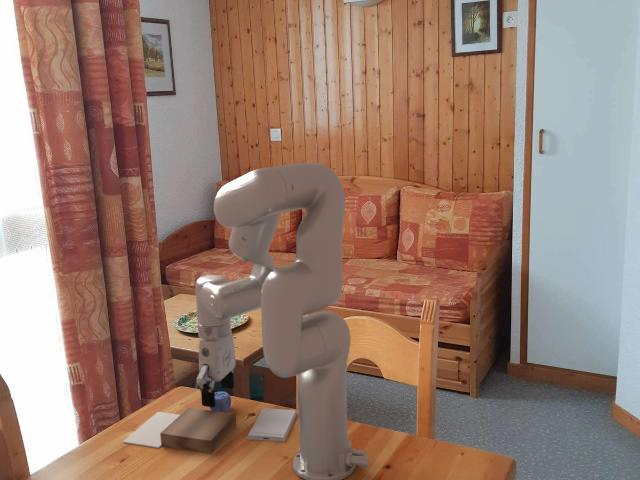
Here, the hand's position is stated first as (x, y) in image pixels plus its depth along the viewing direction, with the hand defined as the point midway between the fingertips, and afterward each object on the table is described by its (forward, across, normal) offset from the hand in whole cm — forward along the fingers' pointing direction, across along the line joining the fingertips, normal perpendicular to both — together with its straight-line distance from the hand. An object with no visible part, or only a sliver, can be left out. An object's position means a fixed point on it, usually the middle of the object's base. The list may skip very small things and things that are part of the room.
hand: (218, 396), depth 152 cm
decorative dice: (+4, 0, -1) cm, 4 cm away
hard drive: (+4, -4, -16) cm, 17 cm away
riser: (+3, -12, -2) cm, 13 cm away
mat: (+3, -12, +9) cm, 16 cm away
